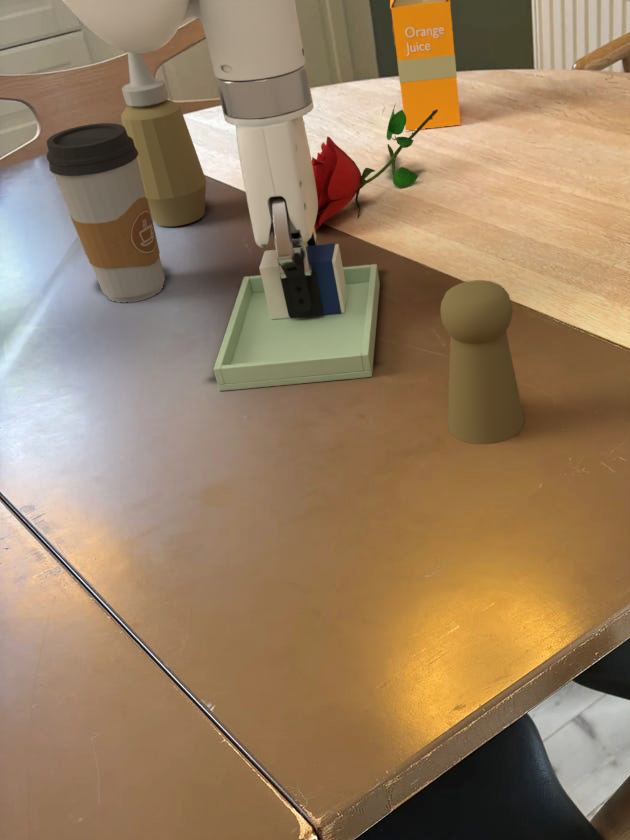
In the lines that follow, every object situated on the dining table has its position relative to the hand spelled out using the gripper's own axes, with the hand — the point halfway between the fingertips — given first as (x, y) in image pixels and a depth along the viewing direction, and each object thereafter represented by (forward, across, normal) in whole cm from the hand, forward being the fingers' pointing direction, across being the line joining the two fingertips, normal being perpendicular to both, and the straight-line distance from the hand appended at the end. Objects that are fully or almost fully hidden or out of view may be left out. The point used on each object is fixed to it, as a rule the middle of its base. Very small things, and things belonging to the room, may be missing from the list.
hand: (308, 302), depth 96 cm
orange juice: (+1, -60, +11) cm, 61 cm away
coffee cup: (+1, -10, -19) cm, 21 cm away
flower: (+1, -33, +5) cm, 33 cm away
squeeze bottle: (+1, -30, -18) cm, 35 cm away
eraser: (+1, 0, 0) cm, 1 cm away
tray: (+1, +4, 0) cm, 4 cm away
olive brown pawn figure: (+1, +23, +16) cm, 28 cm away
